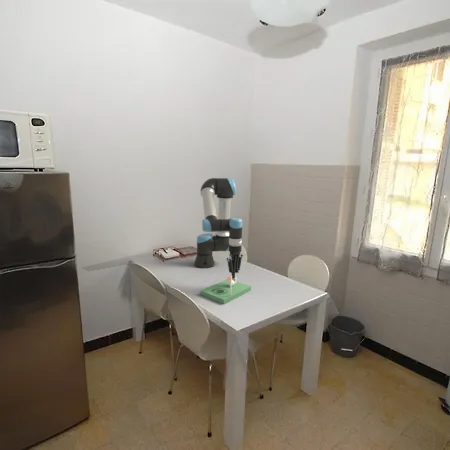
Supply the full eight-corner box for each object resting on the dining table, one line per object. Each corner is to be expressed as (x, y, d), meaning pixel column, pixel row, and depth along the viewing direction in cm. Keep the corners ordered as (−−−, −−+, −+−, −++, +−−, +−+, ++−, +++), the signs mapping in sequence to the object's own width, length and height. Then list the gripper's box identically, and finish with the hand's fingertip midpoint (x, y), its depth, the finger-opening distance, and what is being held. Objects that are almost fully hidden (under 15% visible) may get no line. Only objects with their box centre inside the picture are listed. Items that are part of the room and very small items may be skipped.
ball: (230, 284, 179) (226, 286, 176) (230, 277, 178) (226, 280, 175) (235, 285, 176) (231, 288, 173) (235, 279, 175) (231, 282, 172)
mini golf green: (227, 282, 188) (228, 261, 185) (251, 290, 177) (252, 267, 174) (200, 294, 169) (200, 271, 167) (224, 304, 158) (224, 279, 155)
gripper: (233, 248, 166) (232, 287, 170) (246, 243, 176) (245, 281, 180) (223, 245, 170) (222, 284, 175) (236, 241, 180) (235, 278, 185)
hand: (234, 282), depth 177 cm, fingers closed
